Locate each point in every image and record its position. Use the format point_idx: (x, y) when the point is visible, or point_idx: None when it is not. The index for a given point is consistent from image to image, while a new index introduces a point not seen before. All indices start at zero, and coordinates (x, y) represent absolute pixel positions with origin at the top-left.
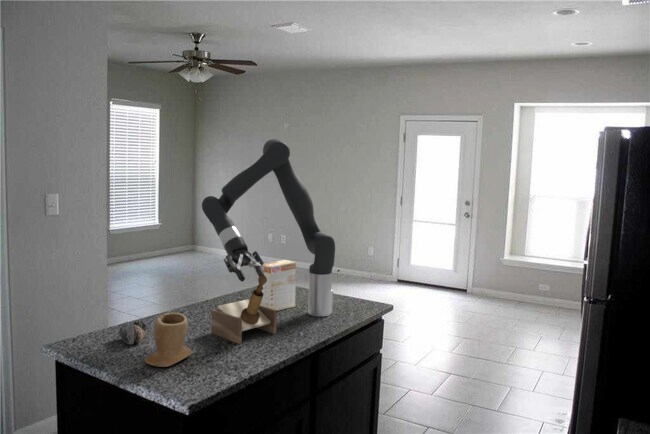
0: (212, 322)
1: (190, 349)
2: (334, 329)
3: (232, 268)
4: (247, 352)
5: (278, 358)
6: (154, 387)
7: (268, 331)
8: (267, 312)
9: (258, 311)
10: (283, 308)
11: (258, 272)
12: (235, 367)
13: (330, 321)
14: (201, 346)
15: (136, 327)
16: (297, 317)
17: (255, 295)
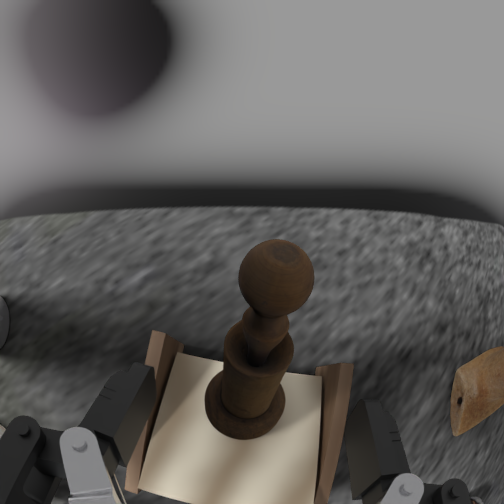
0: None
1: (462, 375)
2: (75, 228)
3: (460, 484)
4: (357, 301)
5: (334, 219)
6: None
7: None
8: (161, 374)
9: (169, 414)
10: (2, 427)
11: (136, 424)
12: (425, 259)
13: (28, 268)
14: (398, 422)
15: None
16: (30, 362)
17: (291, 339)
